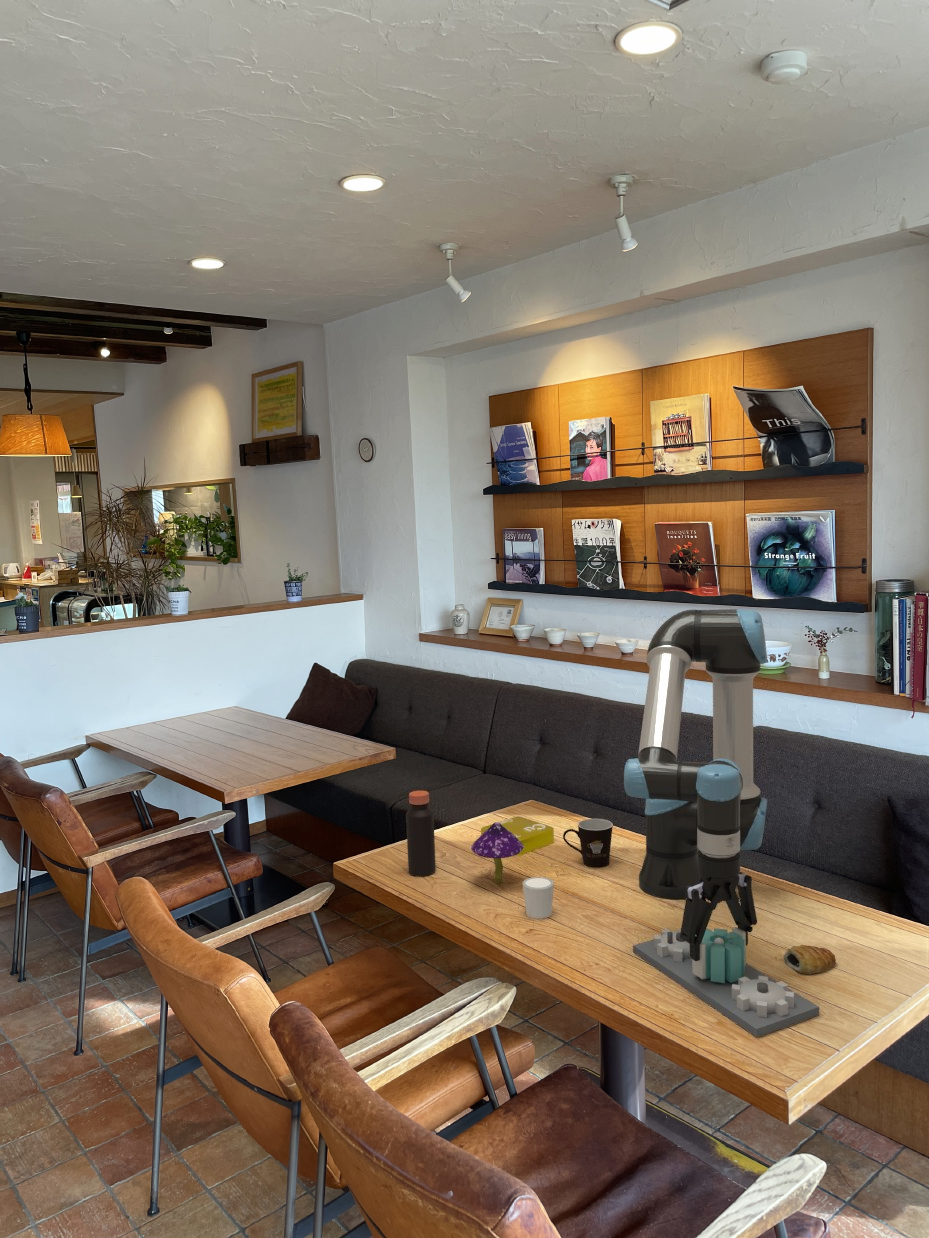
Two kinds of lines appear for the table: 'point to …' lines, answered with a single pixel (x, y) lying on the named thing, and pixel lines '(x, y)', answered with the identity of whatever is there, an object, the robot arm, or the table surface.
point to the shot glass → (538, 897)
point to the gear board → (729, 988)
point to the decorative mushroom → (497, 846)
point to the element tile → (528, 833)
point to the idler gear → (724, 956)
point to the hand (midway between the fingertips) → (719, 969)
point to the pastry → (809, 959)
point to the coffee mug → (593, 841)
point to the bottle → (420, 835)
